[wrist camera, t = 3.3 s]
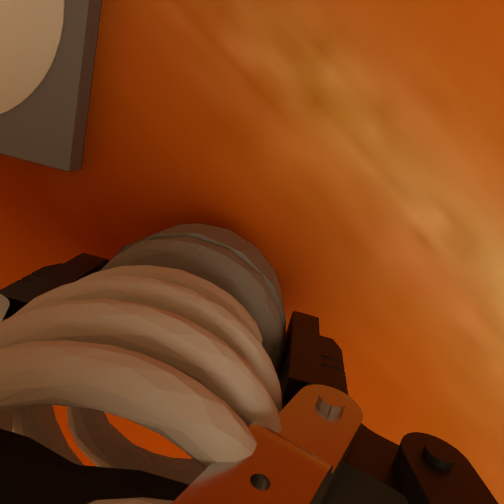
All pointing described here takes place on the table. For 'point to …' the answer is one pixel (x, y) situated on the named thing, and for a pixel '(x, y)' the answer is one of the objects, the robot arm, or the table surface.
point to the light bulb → (152, 355)
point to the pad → (46, 78)
